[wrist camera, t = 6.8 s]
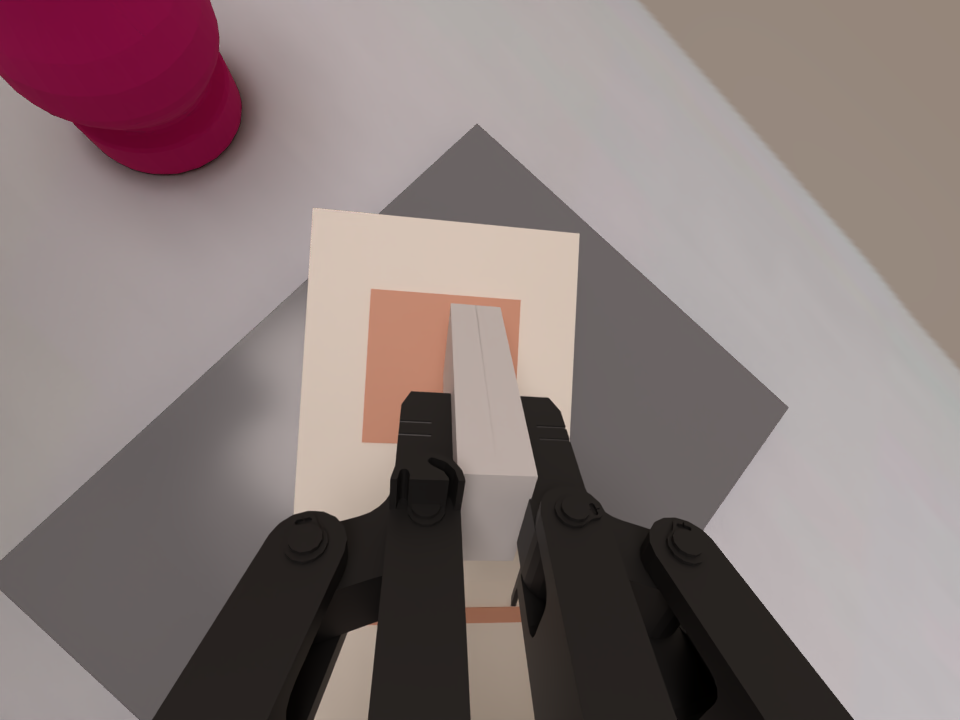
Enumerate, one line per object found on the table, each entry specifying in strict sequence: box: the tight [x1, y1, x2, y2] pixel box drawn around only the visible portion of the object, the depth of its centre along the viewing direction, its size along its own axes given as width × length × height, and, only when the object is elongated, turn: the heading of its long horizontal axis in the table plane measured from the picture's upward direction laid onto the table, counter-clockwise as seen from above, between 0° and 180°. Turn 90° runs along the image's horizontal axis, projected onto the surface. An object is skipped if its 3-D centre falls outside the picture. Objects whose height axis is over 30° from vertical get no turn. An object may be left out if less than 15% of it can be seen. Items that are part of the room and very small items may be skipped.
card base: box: [314, 580, 535, 720], centre depth 17 cm, size 7×9×1 cm
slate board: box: [0, 124, 789, 720], centre depth 19 cm, size 19×25×1 cm
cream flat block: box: [293, 208, 580, 581], centre depth 16 cm, size 2×9×12 cm
